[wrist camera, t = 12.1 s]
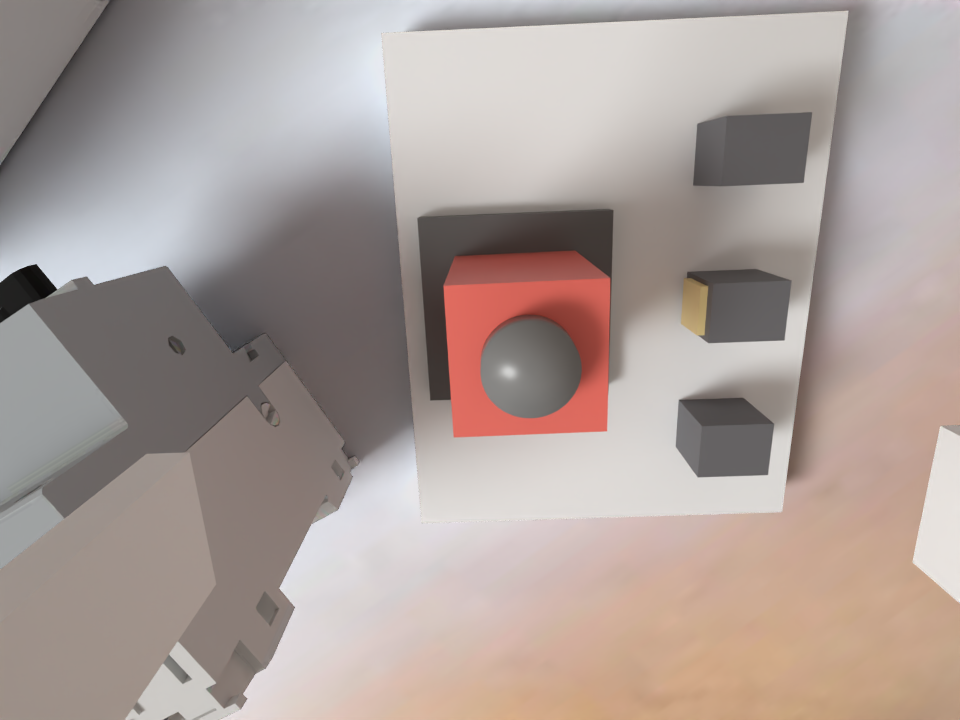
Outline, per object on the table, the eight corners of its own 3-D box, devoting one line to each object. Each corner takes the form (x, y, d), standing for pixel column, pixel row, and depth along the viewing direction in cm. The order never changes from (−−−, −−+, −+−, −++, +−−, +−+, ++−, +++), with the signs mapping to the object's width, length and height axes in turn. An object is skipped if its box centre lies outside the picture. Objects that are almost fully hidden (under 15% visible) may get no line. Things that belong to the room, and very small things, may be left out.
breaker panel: (763, 491, 31) (815, 548, 26) (425, 502, 31) (414, 561, 26) (819, 24, 24) (903, -15, 19) (389, 44, 24) (366, 11, 20)
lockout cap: (574, 364, 25) (613, 445, 18) (461, 369, 25) (451, 451, 18) (575, 250, 24) (617, 283, 16) (455, 256, 24) (440, 292, 16)
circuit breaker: (185, 222, 27) (-163, 272, 12) (359, 461, 30) (246, 715, 16) (65, 303, 28) (-381, 435, 13) (246, 524, 31) (46, 813, 17)
